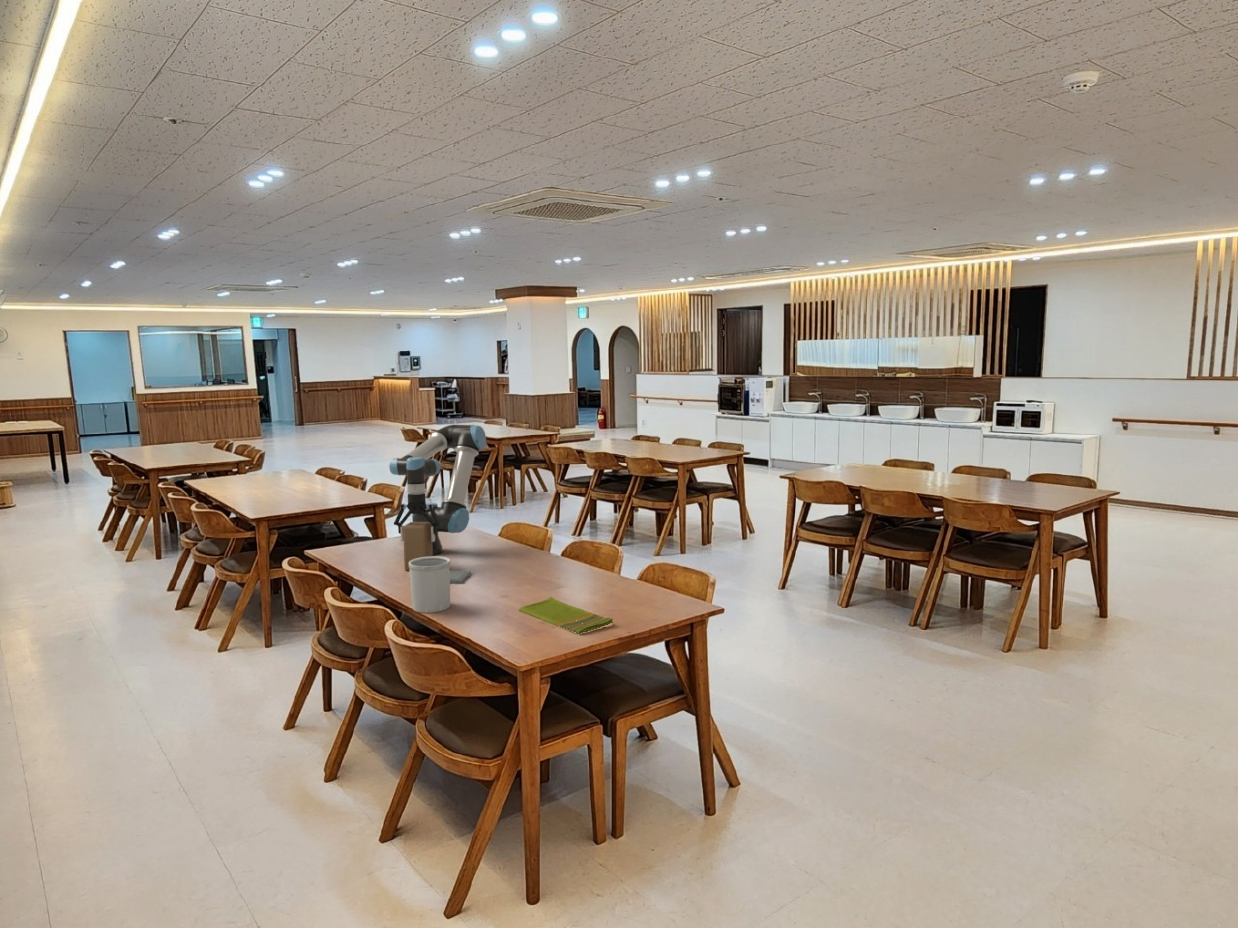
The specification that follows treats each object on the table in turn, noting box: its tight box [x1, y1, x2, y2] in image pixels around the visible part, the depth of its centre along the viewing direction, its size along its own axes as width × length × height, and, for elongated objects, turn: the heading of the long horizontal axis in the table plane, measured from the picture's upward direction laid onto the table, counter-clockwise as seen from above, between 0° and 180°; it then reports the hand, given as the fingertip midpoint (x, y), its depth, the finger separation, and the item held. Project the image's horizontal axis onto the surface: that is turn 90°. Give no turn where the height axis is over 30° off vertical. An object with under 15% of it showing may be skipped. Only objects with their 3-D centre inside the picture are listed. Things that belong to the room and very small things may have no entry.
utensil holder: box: [409, 555, 451, 614], centre depth 290 cm, size 15×15×18 cm
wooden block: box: [403, 521, 434, 572], centre depth 346 cm, size 10×10×20 cm
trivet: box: [450, 569, 472, 585], centre depth 331 cm, size 16×16×1 cm
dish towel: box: [518, 596, 614, 635], centre depth 279 cm, size 15×36×3 cm, turn 42°
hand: (418, 541), depth 345 cm, fingers open, 13 cm apart
